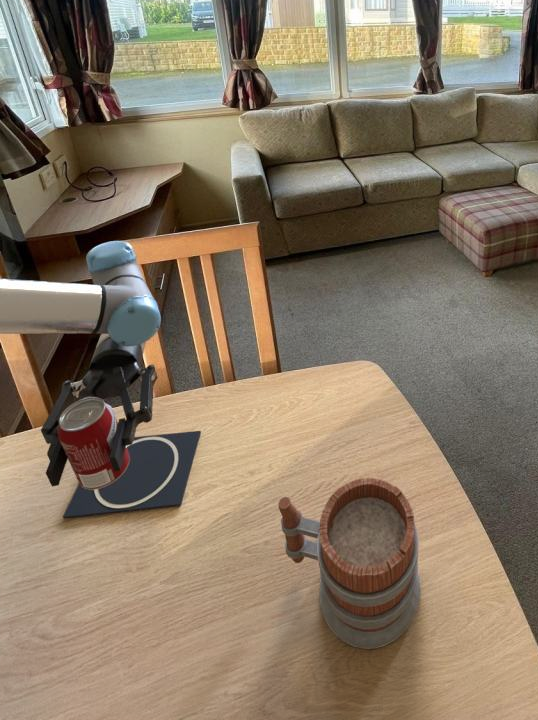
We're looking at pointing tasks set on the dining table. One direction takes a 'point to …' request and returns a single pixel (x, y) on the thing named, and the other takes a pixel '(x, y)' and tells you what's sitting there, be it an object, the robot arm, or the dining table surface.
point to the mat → (143, 478)
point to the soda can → (90, 442)
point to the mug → (361, 560)
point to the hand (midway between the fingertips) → (84, 471)
